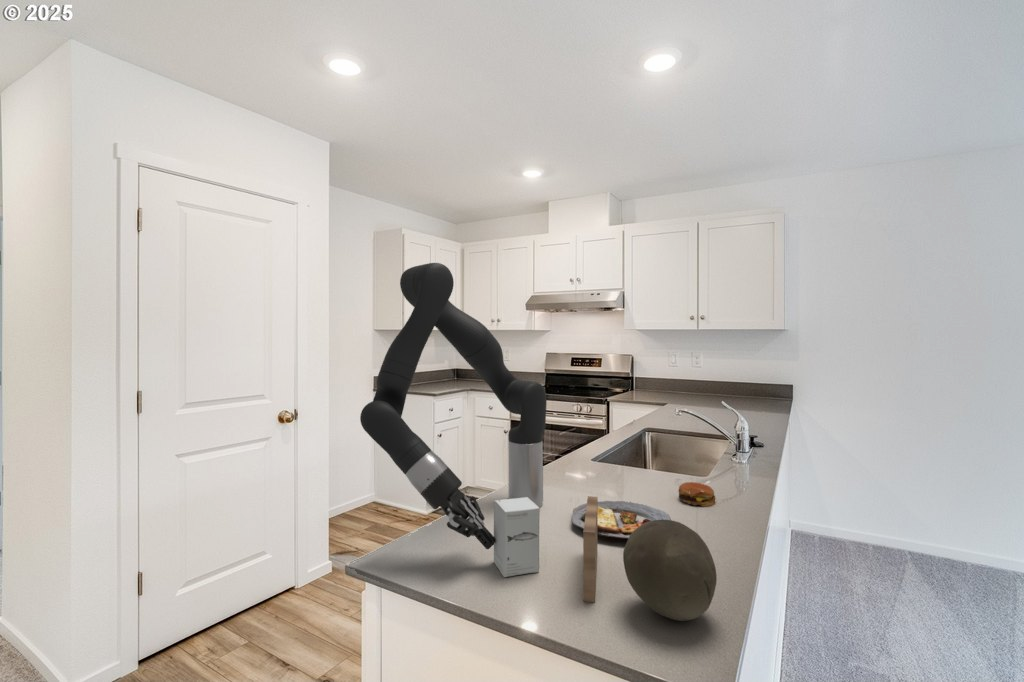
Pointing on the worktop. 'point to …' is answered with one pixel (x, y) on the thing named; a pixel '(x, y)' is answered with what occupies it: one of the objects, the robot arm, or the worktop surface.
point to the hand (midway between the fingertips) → (492, 545)
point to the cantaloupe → (670, 569)
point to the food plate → (623, 525)
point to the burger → (697, 494)
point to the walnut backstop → (590, 549)
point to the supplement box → (516, 536)
